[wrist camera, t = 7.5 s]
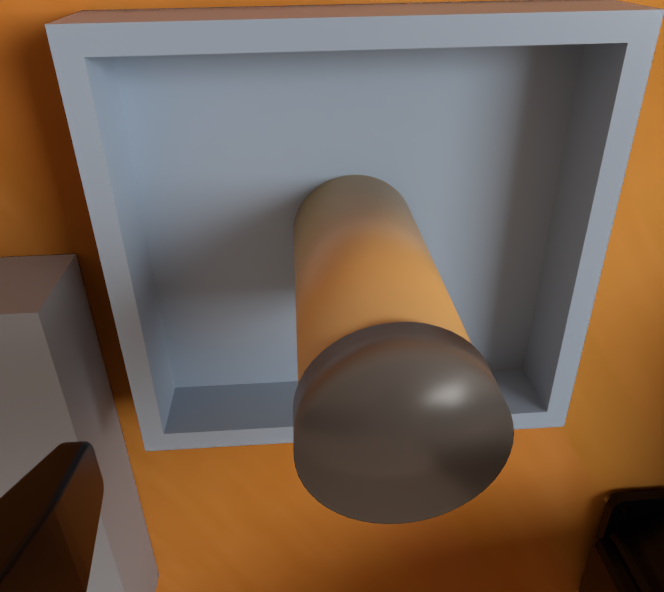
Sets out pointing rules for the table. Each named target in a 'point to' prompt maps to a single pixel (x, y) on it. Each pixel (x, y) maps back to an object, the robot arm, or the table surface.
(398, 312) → the cylinder
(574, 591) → the table surface
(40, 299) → the panel
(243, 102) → the parts tray
